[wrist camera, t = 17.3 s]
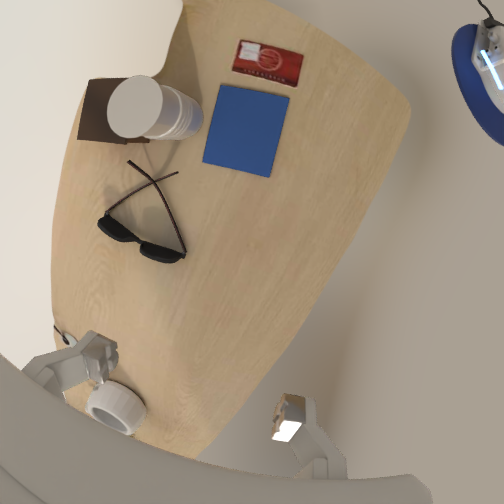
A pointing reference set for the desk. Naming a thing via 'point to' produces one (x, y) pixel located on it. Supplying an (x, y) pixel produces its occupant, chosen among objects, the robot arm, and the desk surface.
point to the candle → (152, 111)
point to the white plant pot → (116, 407)
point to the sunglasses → (124, 235)
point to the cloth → (245, 130)
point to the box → (101, 114)
